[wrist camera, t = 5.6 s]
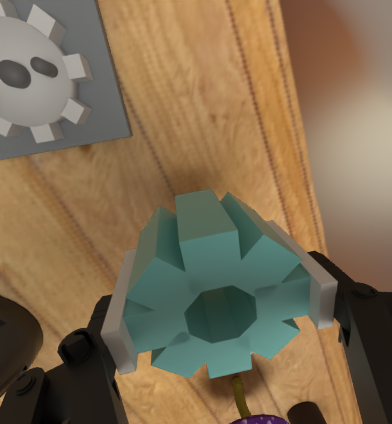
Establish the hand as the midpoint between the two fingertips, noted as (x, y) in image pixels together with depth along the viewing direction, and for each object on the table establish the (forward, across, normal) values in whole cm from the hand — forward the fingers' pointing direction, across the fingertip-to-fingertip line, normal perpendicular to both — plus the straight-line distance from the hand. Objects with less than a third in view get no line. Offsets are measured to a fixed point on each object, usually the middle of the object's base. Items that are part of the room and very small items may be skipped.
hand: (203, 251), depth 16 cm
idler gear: (0, 0, 0) cm, 0 cm away
